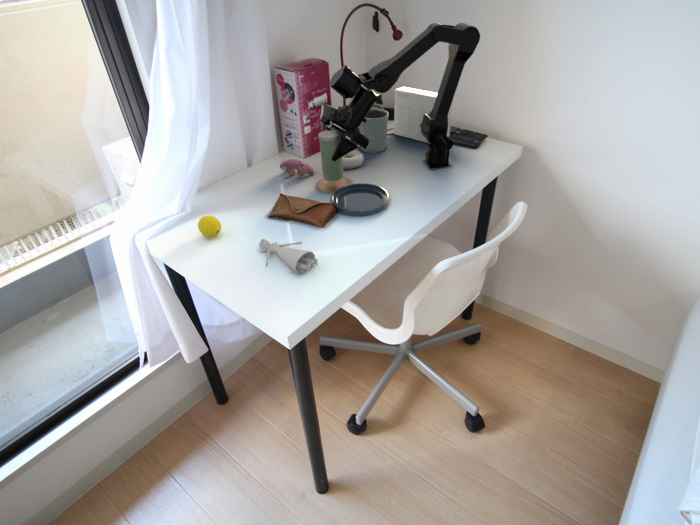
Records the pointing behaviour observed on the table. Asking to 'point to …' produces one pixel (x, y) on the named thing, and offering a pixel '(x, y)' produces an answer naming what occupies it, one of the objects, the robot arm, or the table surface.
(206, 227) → the lemon
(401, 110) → the skincare box
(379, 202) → the plate
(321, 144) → the tea tin
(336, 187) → the coaster
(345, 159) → the donut
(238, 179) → the table surface
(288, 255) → the woman figurine
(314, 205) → the sunglasses case
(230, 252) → the table surface
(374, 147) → the grey-green cup
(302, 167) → the video game controller
